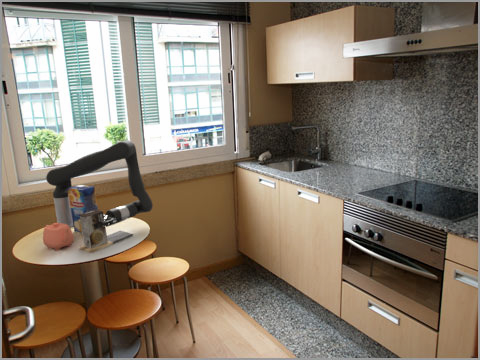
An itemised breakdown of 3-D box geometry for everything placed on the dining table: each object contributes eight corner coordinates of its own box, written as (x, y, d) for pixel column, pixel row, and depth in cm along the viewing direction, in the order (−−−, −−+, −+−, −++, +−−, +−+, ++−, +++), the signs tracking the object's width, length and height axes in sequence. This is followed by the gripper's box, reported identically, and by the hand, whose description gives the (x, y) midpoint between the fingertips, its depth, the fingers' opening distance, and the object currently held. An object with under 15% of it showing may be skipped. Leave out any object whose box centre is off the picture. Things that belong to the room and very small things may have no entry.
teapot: (37, 247, 191) (33, 224, 188) (60, 238, 201) (56, 216, 198) (61, 255, 180) (57, 230, 178) (83, 245, 190) (80, 222, 187)
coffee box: (100, 239, 194) (96, 208, 190) (108, 242, 190) (103, 210, 186) (83, 246, 187) (78, 214, 183) (91, 249, 183) (86, 216, 179)
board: (79, 248, 187) (78, 246, 186) (120, 232, 205) (120, 230, 205) (91, 253, 181) (91, 251, 180) (132, 235, 199) (132, 233, 199)
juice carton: (100, 229, 211) (94, 186, 205) (89, 234, 205) (82, 190, 199) (85, 226, 217) (78, 184, 211) (74, 231, 210) (67, 188, 205)
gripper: (108, 205, 200) (79, 215, 187) (125, 209, 192) (97, 219, 179) (110, 219, 202) (81, 230, 189) (127, 224, 193) (99, 235, 181)
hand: (89, 225), depth 184 cm, fingers open, 8 cm apart
